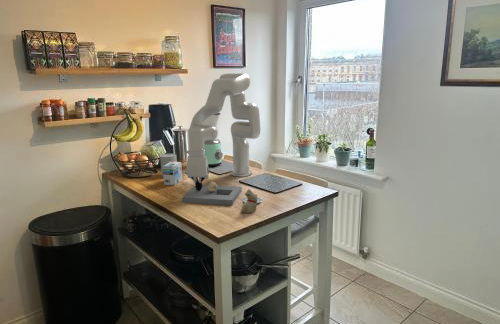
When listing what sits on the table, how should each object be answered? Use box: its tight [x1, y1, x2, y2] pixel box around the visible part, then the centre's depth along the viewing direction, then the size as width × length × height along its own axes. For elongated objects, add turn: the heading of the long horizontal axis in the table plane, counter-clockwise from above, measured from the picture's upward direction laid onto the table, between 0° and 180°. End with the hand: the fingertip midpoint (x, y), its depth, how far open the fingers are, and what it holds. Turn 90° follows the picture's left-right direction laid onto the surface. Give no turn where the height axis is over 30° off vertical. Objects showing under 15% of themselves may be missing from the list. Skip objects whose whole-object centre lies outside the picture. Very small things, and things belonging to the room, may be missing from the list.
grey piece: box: [159, 153, 178, 178], centre depth 206 cm, size 10×10×12 cm
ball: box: [206, 181, 218, 192], centre depth 169 cm, size 5×5×5 cm
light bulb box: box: [163, 161, 183, 186], centre depth 192 cm, size 11×7×11 cm, turn 168°
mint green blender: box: [202, 112, 224, 167], centre depth 227 cm, size 19×13×35 cm
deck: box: [181, 184, 243, 206], centre depth 170 cm, size 20×24×2 cm
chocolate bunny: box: [240, 188, 259, 214], centre depth 151 cm, size 6×8×10 cm
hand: (198, 189), depth 171 cm, fingers closed
